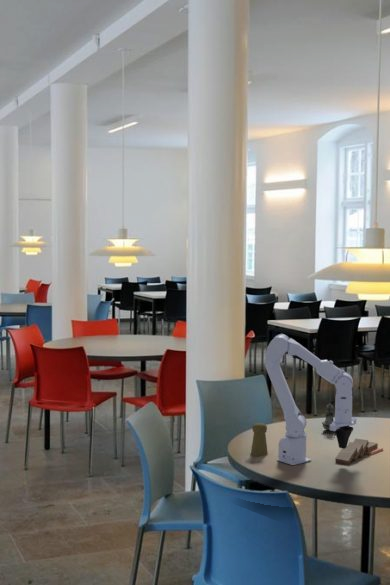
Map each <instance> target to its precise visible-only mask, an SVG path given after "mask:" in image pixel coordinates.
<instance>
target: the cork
mask: <svg viewBox="0 0 390 585" xmlns="http://www.w3.org/2000/svg"><path fill="white" fill-rule="evenodd" d="M267 427H268V426H267V424H266V423H263V422H256V423H254V424H253V425H252V429H251V430H252V432H253V437H252V444H251V449H250V450H251V452H250V455H252V456H255V457H265V456H268V454H269V453H268V445H267V444H268V443H267V437H266V432H267V430H268V428H267Z"/></svg>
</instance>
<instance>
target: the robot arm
mask: <svg viewBox="0 0 390 585" xmlns="http://www.w3.org/2000/svg"><path fill="white" fill-rule="evenodd" d="M286 353H287V356H297V357H298V358H300V359H301V360H303V361H304V362H306V363H307V364H309V365H311V366H312V367H314V369H315V370H316V374H317V375H319V376H320V377H321V378H323V379H325V380H326V381H327V382H329V383H330V384H331V385H334V388H335V389H336V394H335V395H334V396H335V397H334V398H335V403H334V404H335V406H334V407H335V408H334V422H333V423H332V424H330V430H331V431H334V432H335V433H334V434H335V436H336V439H337V445H338V448H339V449H342V448H343V449H345V448H346V447H347V446H348V444H349V438H350V436H351V434H352V433H353V431H354V427H353V426H355V425H356V424H357V418H356V417H353V386H354V380H353V377H352V375H351V374H350V373H349V372H346V371H345V369H341V368H339V367H338V366H336V365H335V364H334V361H333V360H331V359H330V360H328V359H320V358H319V357H318V356H316V355H315V354H314V353H313V352H311V351H309V350H308V349H307V348H306V347H305V346H303V344H301V343H299V342H297V341H296V340H295V339H293V338H292V337H289V336H288V335H286V334H284V333H280V334H279V333H278V334H277V335H275V336H274V337H273V339H272V340H271V341H270V342H269V344H268V345H267V347H266V353H265V359H264V366H265V369H266V373H267V374H268V376H269V379H270V381H271V385H272V387H273V389H274V391H275V394H276V397H277V399H278V402H279V405H280V406H281V409H282V412H283V413H282V414H283V417H284V418H283V419H284V422H285V435H284V436H283V437H282V438H280V440H279V441H278V456H277V457H278V458H276V461H279V462H281V463H285V464H287V465H291V466H296V465H300V464H303V463H307V462H311V461H312V459H311V458H308V457H307V433H306V432H305V429H306V427H307V419H306V417H305V416H304V415H303V414H302V413H301V411H300V409H299V407H298V406H297V403H296V402H295V400H294V397H293V395H292V392H291V390H290V387H289V385H288V383H287V379H286V378H285V375H284V372H283V369H282V367H281V365H280V363H281V361H282V359H283V357H284V355H286Z"/></svg>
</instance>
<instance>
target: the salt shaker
mask: <svg viewBox="0 0 390 585" xmlns="http://www.w3.org/2000/svg"><path fill="white" fill-rule="evenodd" d="M324 414H325V420H324V421H323V422H322V423H321V424H322V427H323V429H324V430H322V433H323V434H326V433H327V434H329V435H333V434H335V432H334V431H331V430H330V424H332V423H333V422H334V421H335V419H334V416H335V412H334V405H333V404H332V403H331V402H329V404H326V407H325V413H324Z"/></svg>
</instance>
